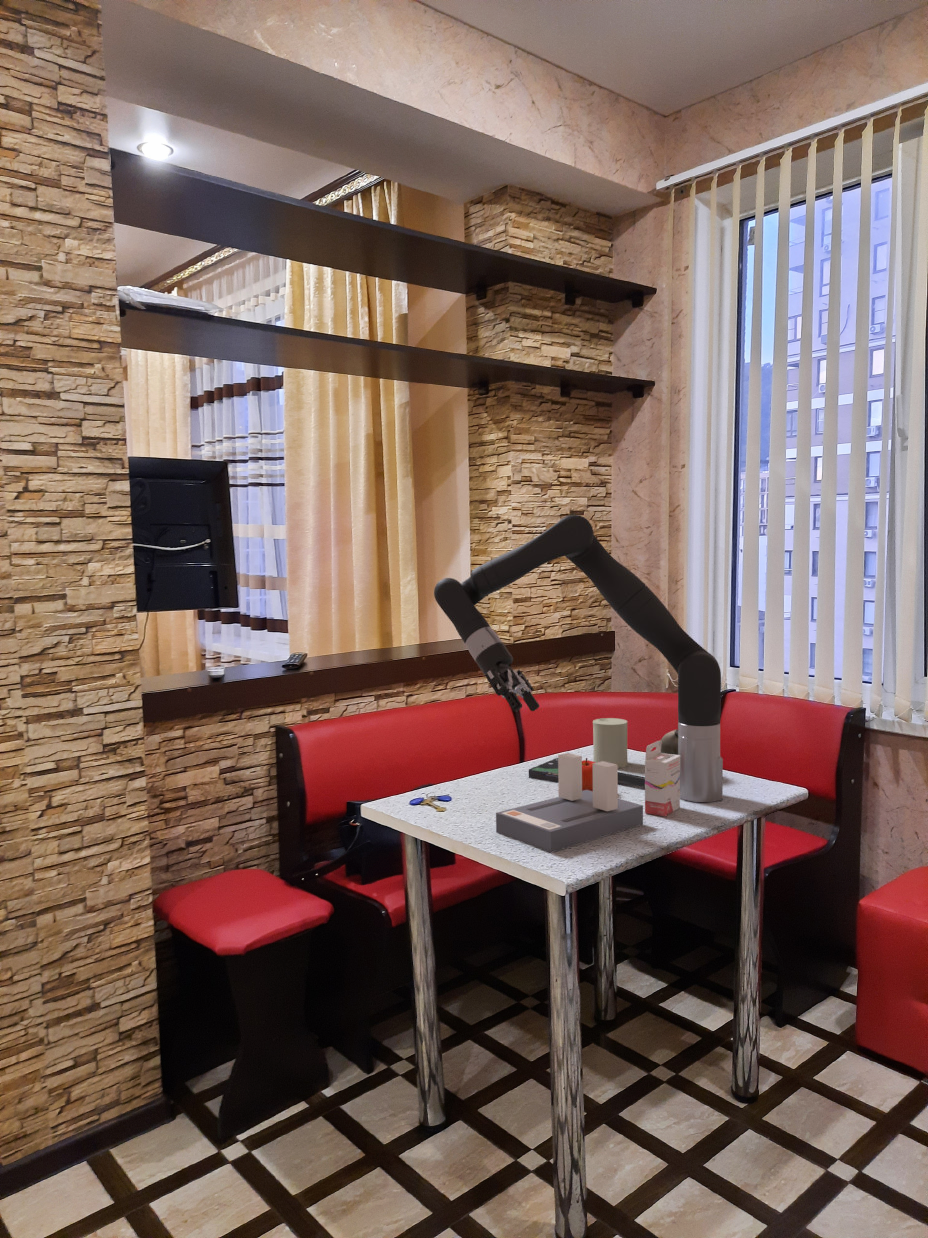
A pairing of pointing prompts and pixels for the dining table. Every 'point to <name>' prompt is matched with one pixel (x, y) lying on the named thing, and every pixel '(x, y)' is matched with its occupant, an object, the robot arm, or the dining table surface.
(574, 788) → the switch tab
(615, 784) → the switch tab
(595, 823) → the block
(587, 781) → the apple
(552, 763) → the disk drive
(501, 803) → the dining table surface
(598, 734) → the can
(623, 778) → the phone
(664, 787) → the ink cartridge box
